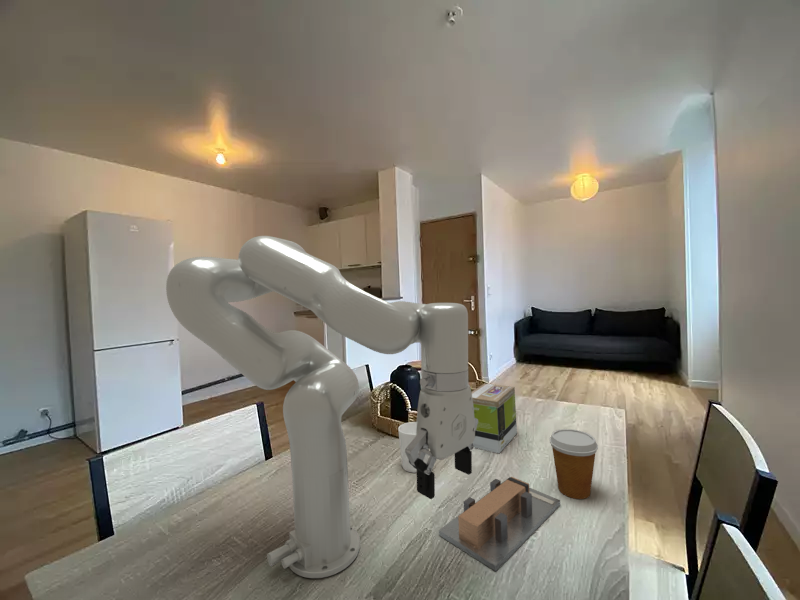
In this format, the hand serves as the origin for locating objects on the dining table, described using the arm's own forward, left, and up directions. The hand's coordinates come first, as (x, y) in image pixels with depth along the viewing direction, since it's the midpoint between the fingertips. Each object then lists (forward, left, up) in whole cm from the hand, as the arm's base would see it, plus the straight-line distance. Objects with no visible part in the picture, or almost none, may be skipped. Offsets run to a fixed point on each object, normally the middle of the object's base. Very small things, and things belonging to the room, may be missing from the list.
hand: (445, 482), depth 59 cm
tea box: (+45, +21, -14) cm, 52 cm away
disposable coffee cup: (+35, -6, -14) cm, 38 cm away
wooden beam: (+14, 0, -13) cm, 19 cm away
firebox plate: (+16, 0, -14) cm, 21 cm away
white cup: (+19, +27, -14) cm, 36 cm away
